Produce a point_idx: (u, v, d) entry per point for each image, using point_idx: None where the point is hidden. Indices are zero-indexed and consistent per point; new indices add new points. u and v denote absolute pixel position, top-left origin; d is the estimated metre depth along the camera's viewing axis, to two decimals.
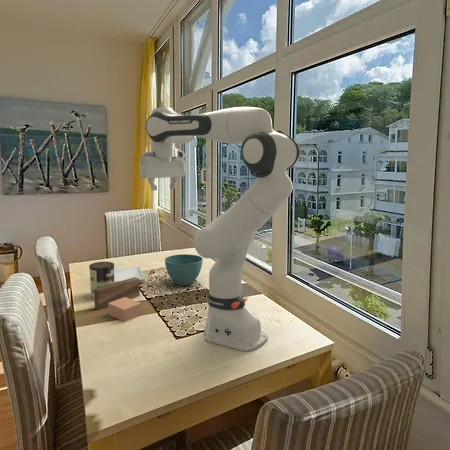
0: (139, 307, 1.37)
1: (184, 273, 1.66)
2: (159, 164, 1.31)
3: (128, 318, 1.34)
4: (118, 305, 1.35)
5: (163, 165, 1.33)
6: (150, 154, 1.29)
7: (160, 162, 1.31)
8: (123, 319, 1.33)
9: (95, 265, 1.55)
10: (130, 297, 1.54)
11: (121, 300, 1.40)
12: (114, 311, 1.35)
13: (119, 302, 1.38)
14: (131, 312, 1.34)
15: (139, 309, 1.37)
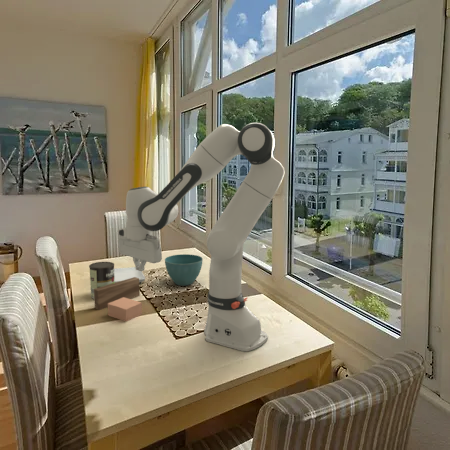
0: (140, 307, 1.38)
1: (184, 273, 1.66)
2: None
3: (130, 318, 1.34)
4: (118, 306, 1.35)
5: None
6: None
7: None
8: (125, 319, 1.33)
9: (95, 265, 1.55)
10: (130, 297, 1.54)
11: (120, 300, 1.40)
12: (115, 311, 1.35)
13: (119, 302, 1.38)
14: (132, 312, 1.35)
15: (140, 308, 1.38)
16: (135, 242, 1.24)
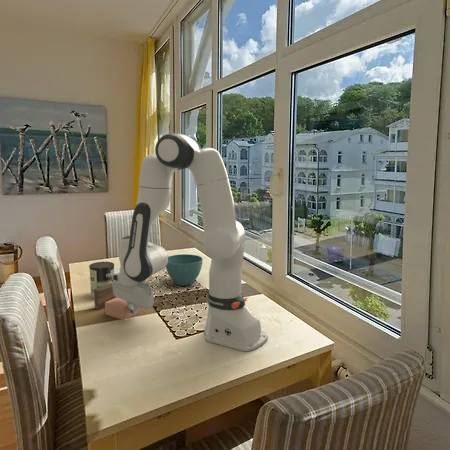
0: None
1: (184, 273, 1.66)
2: None
3: (127, 316, 1.35)
4: (116, 304, 1.36)
5: None
6: None
7: None
8: (123, 317, 1.34)
9: (95, 265, 1.55)
10: None
11: (117, 299, 1.41)
12: (112, 310, 1.36)
13: (116, 301, 1.39)
14: None
15: None
16: (128, 288, 1.30)
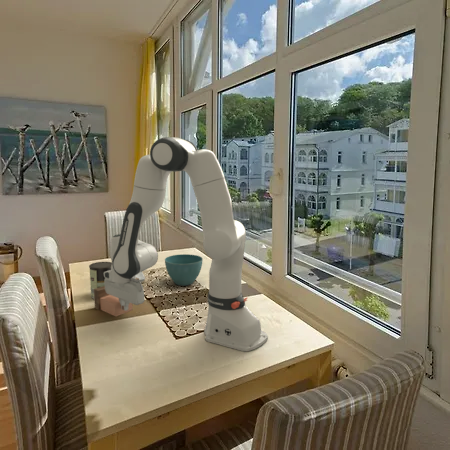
0: None
1: (184, 273, 1.66)
2: None
3: (119, 313, 1.38)
4: (109, 300, 1.39)
5: None
6: None
7: None
8: (114, 313, 1.37)
9: (95, 265, 1.55)
10: None
11: None
12: (106, 306, 1.40)
13: (111, 297, 1.43)
14: None
15: (130, 304, 1.42)
16: (119, 285, 1.33)
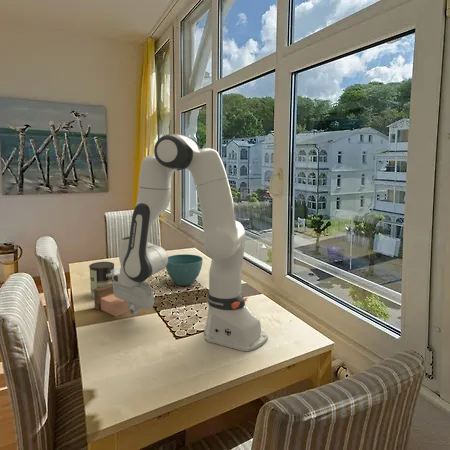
0: None
1: (184, 273, 1.66)
2: None
3: (119, 313, 1.38)
4: (109, 301, 1.39)
5: None
6: None
7: None
8: (114, 314, 1.37)
9: (95, 265, 1.55)
10: None
11: (113, 295, 1.45)
12: (106, 306, 1.40)
13: (111, 297, 1.43)
14: (122, 307, 1.39)
15: None
16: (128, 288, 1.30)
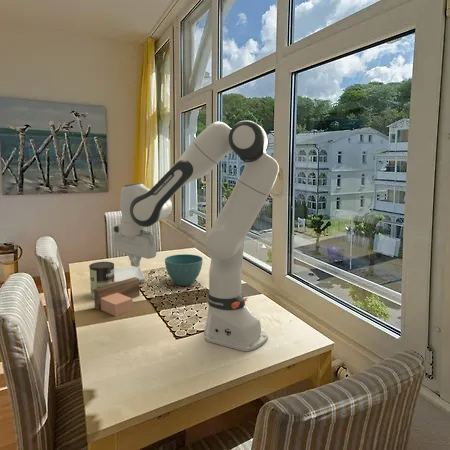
0: (130, 303, 1.42)
1: (184, 273, 1.66)
2: None
3: (119, 313, 1.38)
4: (109, 301, 1.39)
5: None
6: None
7: None
8: (114, 314, 1.37)
9: (95, 265, 1.55)
10: (130, 297, 1.54)
11: (113, 295, 1.45)
12: (106, 306, 1.40)
13: (111, 297, 1.43)
14: (122, 307, 1.39)
15: (130, 304, 1.42)
16: (130, 238, 1.26)
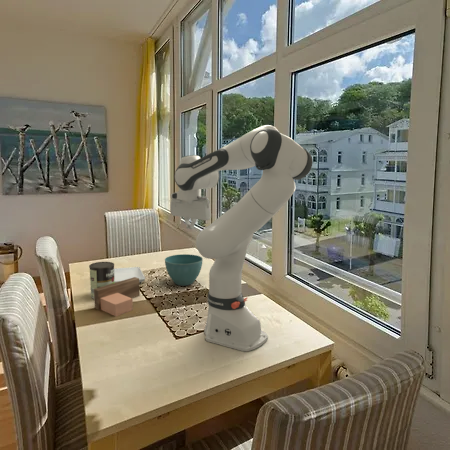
0: (131, 303, 1.42)
1: (184, 273, 1.66)
2: None
3: (119, 313, 1.38)
4: (109, 301, 1.39)
5: None
6: None
7: None
8: (114, 314, 1.37)
9: (95, 265, 1.55)
10: (130, 297, 1.54)
11: (113, 295, 1.45)
12: (106, 306, 1.40)
13: (111, 297, 1.43)
14: (122, 307, 1.39)
15: (130, 304, 1.42)
16: (187, 203, 1.45)
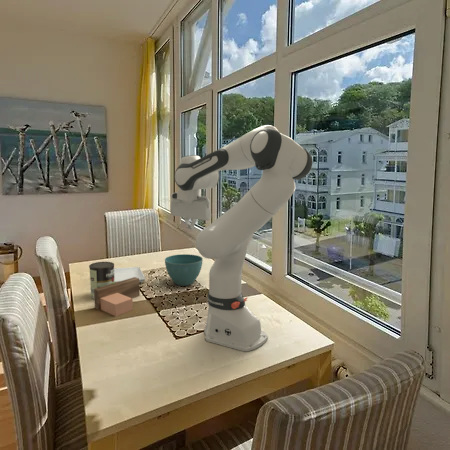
0: (131, 303, 1.42)
1: (184, 273, 1.66)
2: None
3: (119, 313, 1.38)
4: (109, 301, 1.39)
5: None
6: None
7: None
8: (114, 314, 1.37)
9: (95, 265, 1.55)
10: (130, 297, 1.54)
11: (113, 295, 1.45)
12: (106, 306, 1.40)
13: (111, 297, 1.43)
14: (122, 307, 1.39)
15: (130, 304, 1.42)
16: (188, 203, 1.45)
